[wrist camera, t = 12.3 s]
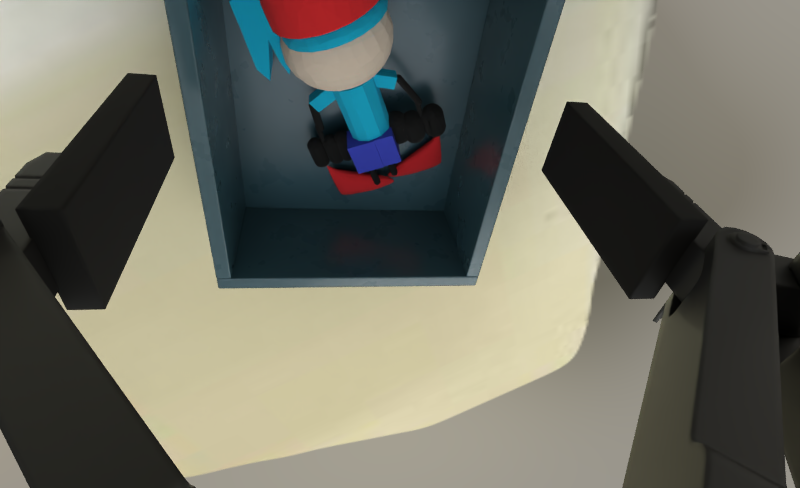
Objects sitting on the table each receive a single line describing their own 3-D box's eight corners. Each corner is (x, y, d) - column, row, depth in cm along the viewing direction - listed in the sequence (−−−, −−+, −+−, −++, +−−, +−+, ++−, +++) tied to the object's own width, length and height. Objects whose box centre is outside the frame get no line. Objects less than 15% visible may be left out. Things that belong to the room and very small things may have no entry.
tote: (167, -302, 15) (91, -380, 10) (551, -225, 17) (646, -255, 12) (236, 210, 28) (218, 289, 23) (449, 214, 30) (475, 285, 25)
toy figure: (448, 139, 28) (374, -188, 16) (463, 198, 24) (385, -154, 13) (329, 171, 29) (179, -113, 17) (330, 231, 26) (147, -66, 14)
